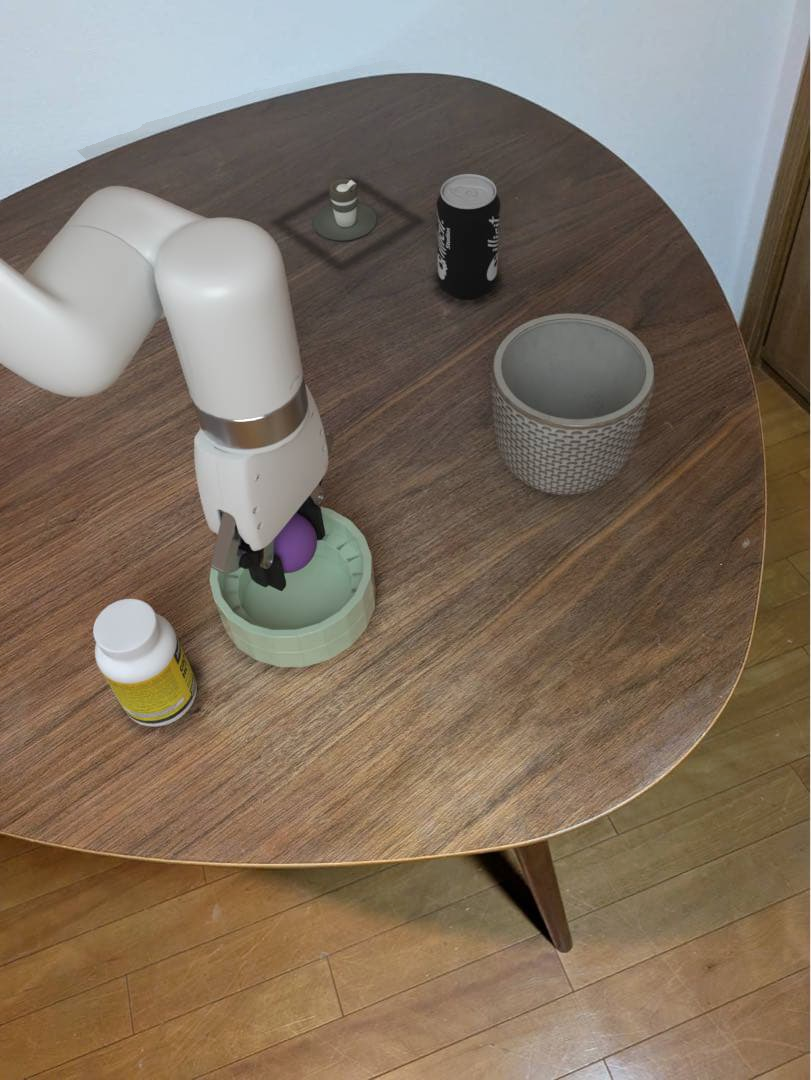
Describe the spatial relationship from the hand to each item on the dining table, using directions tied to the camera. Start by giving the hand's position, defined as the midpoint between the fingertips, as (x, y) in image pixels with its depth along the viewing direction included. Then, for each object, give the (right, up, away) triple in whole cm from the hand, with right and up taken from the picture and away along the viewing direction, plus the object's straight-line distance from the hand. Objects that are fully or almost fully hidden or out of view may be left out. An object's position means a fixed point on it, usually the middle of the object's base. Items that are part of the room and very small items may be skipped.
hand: (288, 555), depth 80 cm
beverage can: (+16, +30, +30) cm, 46 cm away
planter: (+24, +8, +14) cm, 29 cm away
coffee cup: (+3, +39, +38) cm, 55 cm away
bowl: (0, -4, +6) cm, 7 cm away
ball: (0, 0, +1) cm, 1 cm away
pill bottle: (-11, -12, +1) cm, 16 cm away
